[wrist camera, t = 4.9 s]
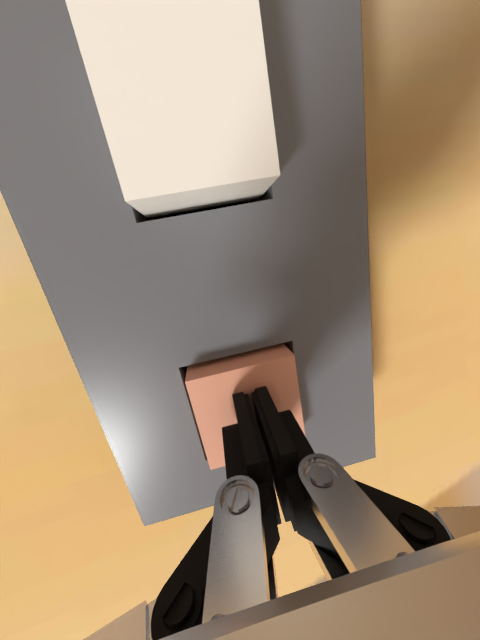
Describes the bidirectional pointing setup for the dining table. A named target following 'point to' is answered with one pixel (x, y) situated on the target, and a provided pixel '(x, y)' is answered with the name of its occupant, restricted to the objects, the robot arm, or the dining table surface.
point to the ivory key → (181, 99)
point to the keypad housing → (198, 248)
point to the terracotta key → (234, 377)
